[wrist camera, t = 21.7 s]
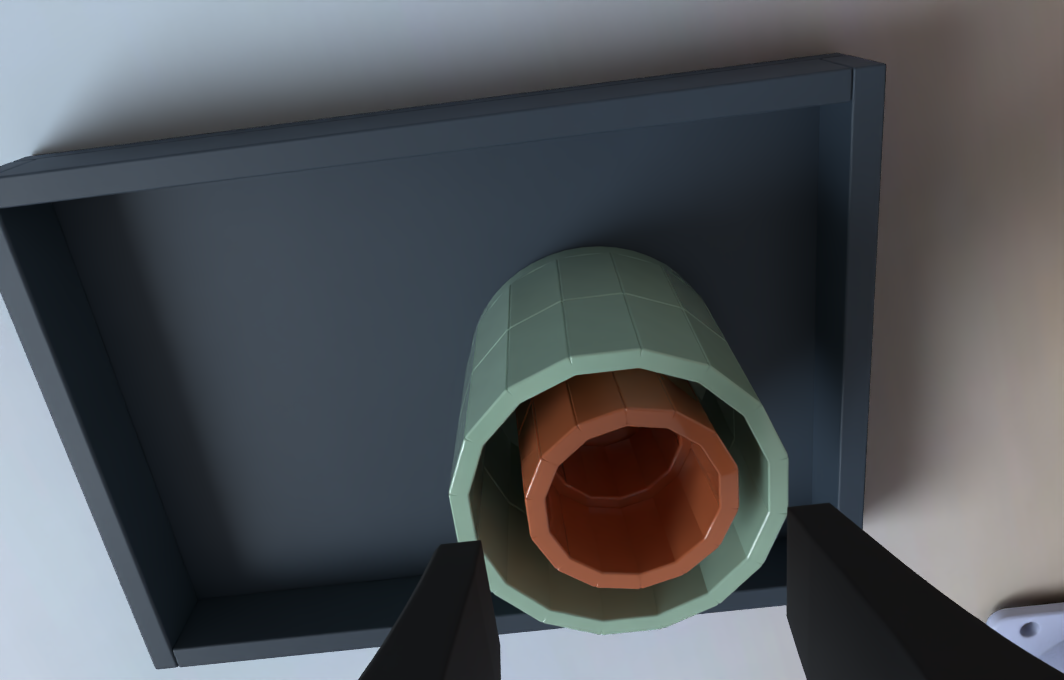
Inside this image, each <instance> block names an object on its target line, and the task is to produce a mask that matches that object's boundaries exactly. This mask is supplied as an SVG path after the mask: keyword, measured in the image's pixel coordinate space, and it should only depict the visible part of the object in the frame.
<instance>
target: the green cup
mask: <svg viewBox="0 0 1064 680" xmlns="http://www.w3.org/2000/svg"><path fill="white" fill-rule="evenodd" d="M634 368H641V369H645V370H649V371H653V372H657V373H661V374H665V375H669V376H673V377H677V378H681V379H685V380H690V381H691V383H692V385H693V386H694V388H695V390H696V392H697V394H698V395H699V397H700V399H701V401H702V403H703V404H704V406H705V408H706V410H707V411H708V413H709V415H710V417H711V419H712V420H713V422H714V424H715V426H716V428H717V429H718V431H719V433H720V435H721V436H722V438H723V440H724V442H725V444H726V445H727V447H728V449H729V451H730V453H731V454H732V456H733V458H734V460H735V462H736V463H737V466H738V469H739V508H738V512H737V514H736V516H735V518H734V520H733V522H732V524H731V525H730V527H729V529H728V531H727V533H726V535H725V537H724V539H723V541H722V543H721V545H719V547H718V548H717V549H716V550H715V551H713V552H712V553H711V554H710V555H708V556H707V557H706V558H705V559H704V560H702V561H701V562H700V563H699V564H697V565H696V566H695V567H694V568H692V569H691V570H690V571H689V572H688V573H686V574H685V573H684V575H682V576H679V577H676V578H673V579H670V580H667V581H664V582H661V583H658V584H655V585H652V586H649V587H646V588H640V589H620V588H597V587H593V586H591V585H589V584H587V583H584V582H582V581H580V580H578V579H576V578H573V577H571V576H569V575H567V574H565V573H562V572H560V571H558V570H557V569H556V568H554V566H553V565H552V564H551V563H550V561H549V560H548V559H547V558H546V556H545V555H544V554H543V553H542V551H541V550H540V549H539V548H538V547H537V545H536V544H535V543H534V542H533V540H532V539H531V536H530V533H529V526H528V519H527V513H526V506H525V499H524V490H523V481H522V472H521V462H520V453H519V444H518V434H517V425H516V415H515V409H516V408H517V407H518V406H519V404H520V403H522V402H524V401H526V400H528V399H530V398H532V397H534V396H536V395H538V394H540V393H542V392H544V391H546V390H548V389H550V388H551V387H553V386H555V385H557V384H559V383H561V382H563V381H565V380H567V379H569V378H571V377H573V376H575V375H582V374H591V373H600V372H608V371H617V370H626V369H634ZM788 494H789V458H788V454H787V452H786V450H785V448H784V446H783V444H782V442H781V440H780V438H779V436H778V434H777V432H776V430H775V428H774V426H773V424H772V422H771V420H770V418H769V416H768V415H767V413H766V411H765V409H764V407H763V405H762V403H761V401H760V399H759V398H758V396H757V394H756V392H755V391H754V389H753V387H752V385H751V384H750V382H749V380H748V378H747V376H746V375H745V373H744V371H743V369H742V368H741V366H740V364H739V362H738V361H737V359H736V357H735V355H734V353H733V352H732V350H731V348H730V346H729V345H728V343H727V341H726V339H725V337H724V336H723V334H722V332H721V330H720V329H719V327H718V325H717V323H716V322H715V320H714V318H713V316H712V314H711V313H710V311H709V309H708V307H707V306H706V304H705V302H704V300H703V299H702V298H701V296H700V295H699V294H698V293H697V292H696V291H695V290H694V288H693V287H692V286H691V285H690V284H689V283H688V282H687V281H686V280H685V279H684V278H683V277H682V276H681V275H679V274H678V273H677V272H676V271H674V270H673V269H671V268H670V267H668V266H667V265H665V264H664V263H662V262H660V261H658V260H656V259H654V258H652V257H650V256H647V255H644V254H641V253H638V252H635V251H632V250H627V249H622V248H617V247H603V246H595V247H581V248H575V249H570V250H565V251H562V252H558V253H555V254H552V255H549V256H547V257H544V258H542V259H540V260H538V261H536V262H534V263H532V264H530V265H529V266H527V267H526V268H524V269H522V270H521V271H519V272H518V273H517V274H515V275H514V276H513V277H512V278H511V279H509V280H508V281H507V282H506V283H505V284H504V285H503V286H502V287H501V288H500V289H499V290H498V291H497V292H496V294H495V295H494V296H493V298H492V299H491V300H490V302H489V303H488V305H487V306H486V308H485V310H484V311H483V313H482V315H481V317H480V319H479V321H478V324H477V327H476V330H475V333H474V335H473V340H472V346H471V351H470V355H469V359H468V363H467V366H466V373H465V380H464V387H463V394H462V401H461V408H460V415H459V422H458V429H457V437H456V444H455V451H454V458H453V465H452V472H451V479H450V486H449V501H450V506H451V511H452V516H453V521H454V526H455V531H456V536H457V541H458V542H466V541H475V540H481V542H482V548H483V553H484V559H485V564H486V570H487V575H488V581H489V586H490V590H491V592H493V593H494V594H495V595H496V596H498V597H500V598H502V599H503V600H505V601H507V602H508V603H510V604H512V605H513V606H515V607H517V608H518V609H520V610H522V611H523V612H525V613H527V614H528V615H530V616H532V617H533V618H535V619H537V620H538V621H540V622H543V623H545V624H550V625H555V626H560V627H565V628H570V629H574V630H579V631H584V632H589V633H594V634H599V635H600V634H601V633H602V635H607V634H617V633H627V632H636V631H646V630H656V629H662V627H663V628H666V627H668V626H670V625H673V624H675V623H677V622H680V621H682V620H684V619H687V618H689V617H691V616H694V615H696V614H698V613H701V612H703V611H705V610H708V609H710V608H712V607H715V606H717V605H718V603H719V604H720V603H722V602H723V601H724V600H725V599H726V598H727V597H728V596H729V595H730V594H731V593H733V592H734V591H735V590H736V589H737V588H738V587H739V586H740V585H741V584H742V583H744V582H745V581H746V580H747V579H748V578H749V577H750V576H751V575H752V574H754V573H755V572H756V571H757V570H758V569H759V568H760V567H761V566H762V564H763V563H764V562H765V560H766V558H767V556H768V554H769V552H770V550H771V548H772V546H773V544H774V541H775V539H776V537H777V535H778V533H779V531H780V529H781V527H782V525H783V523H784V521H785V519H786V517H787V507H788Z"/></svg>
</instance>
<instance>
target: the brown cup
mask: <svg viewBox="0 0 1064 680" xmlns="http://www.w3.org/2000/svg"><path fill="white" fill-rule="evenodd" d="M515 415H516V425H517V434H518V444H519V453H520V462H521V472H522V481H523V490H524V499H525V506H526V513H527V519H528V526H529V533H530V536H531V539H532V540H533V542H534V543H535V544H536V545H537V547H538V548H539V549H540V550H541V551H542V553H543V554H544V555H545V556H546V558H547V559H548V560H549V561H550V563H551V564H552V565H553V566H554V568H556V569H557V570H558V571H560V572H562V573H565V574H567V575H569V576H571V577H573V578H576V579H578V580H580V581H582V582H584V583H587V584H589V585H591V586H593V587H597V588H620V589H640V588H646V587H649V586H652V585H655V584H658V583H661V582H664V581H667V580H670V579H673V578H676V577H679V576H682V575H684V573H685V574H686V573H688V572H689V571H690V570H691V569H692V568H694V567H695V566H696V565H697V564H699V563H700V562H701V561H702V560H704V559H705V558H706V557H707V556H708V555H710V554H711V553H712V552H713V551H715V550H716V549H717V548H718V547H719V545H721V543H722V541H723V539H724V537H725V535H726V533H727V531H728V529H729V527H730V525H731V524H732V522H733V520H734V518H735V516H736V514H737V512H738V508H739V469H738V466H737V463H736V462H735V460H734V458H733V456H732V454H731V453H730V451H729V449H728V447H727V445H726V444H725V442H724V440H723V438H722V436H721V435H720V433H719V431H718V429H717V428H716V426H715V424H714V422H713V420H712V419H711V417H710V415H709V413H708V411H707V410H706V408H705V406H704V404H703V403H702V401H701V399H700V397H699V395H698V394H697V392H696V390H695V388H694V386H693V385H692V383H691V381H690V380H685V379H681V378H677V377H673V376H669V375H665V374H661V373H657V372H653V371H649V370H645V369H641V368H634V369H626V370H617V371H608V372H600V373H591V374H582V375H575V376H573V377H571V378H569V379H567V380H565V381H563V382H561V383H559V384H557V385H555V386H553V387H551V388H550V389H548V390H546V391H544V392H542V393H540V394H538V395H536V396H534V397H532V398H530V399H528V400H526V401H524V402H522V403H520V404H519V406H518V407H517V408H516V409H515Z"/></svg>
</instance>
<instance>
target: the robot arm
mask: <svg viewBox="0 0 1064 680" xmlns="http://www.w3.org/2000/svg"><path fill="white" fill-rule="evenodd" d="M787 619H788V622H789V625H790V628H791V632H792V635H793V638H794V641H795V644H796V648H797V651H798V654H799V657H800V660H801V663H802V666H803V669H804V672H805V675H806V678H807V680H1064V602H1063V603H1053V604H1043V605H1033V606H1024V607H1014V608H1005V609H1001V610H998V611H996V612H994V613H993V614H992V615H991V616H990V617H989V618H988V620H987V623H986V624H985V623H984V622H982V621H981V620H979V619H978V618H976V617H975V616H973V615H972V614H970V613H969V612H967V611H966V610H965V609H963V608H962V607H960V606H959V605H958V604H956V603H955V602H954V601H952V600H951V599H949V598H948V597H947V596H945V595H944V594H943V593H941V592H940V591H939V590H937V589H936V588H935V587H933V586H932V585H931V584H930V583H928V582H927V581H926V580H924V579H923V578H922V577H920V576H919V575H918V574H916V573H915V572H914V571H913V570H911V569H910V568H909V567H908V566H906V565H905V564H904V563H903V562H901V561H900V560H899V559H898V558H896V557H895V556H894V555H893V554H891V553H890V552H889V551H888V550H886V549H885V548H884V547H883V546H882V545H880V544H879V543H878V542H877V541H875V540H874V539H873V538H872V537H871V536H869V535H868V534H867V533H866V532H865V531H863V530H862V529H861V528H860V527H859V526H857V525H856V524H855V523H854V522H853V521H851V520H850V519H849V518H848V517H846V516H845V515H844V514H843V513H842V512H840V511H839V510H838V509H837V508H835V507H834V506H833V505H832V504H831V503H821V504H811V505H802V506H793V507H787ZM1026 623H1028V624H1026ZM1025 624H1026V625H1025ZM1023 625H1024V626H1023ZM358 680H501V665H500V642H499V636H498V631H497V625H496V619H495V614H494V608H493V603H492V597H491V592H490V586H489V581H488V575H487V570H486V564H485V559H484V553H483V548H482V542H481V540H475V541H466V542H457V543H447V544H440V546H439V547H438V548H437V549H436V550H435V551H434V553H433V555H432V557H431V559H430V561H429V563H428V565H427V567H426V569H425V571H424V573H423V575H422V577H421V579H420V580H419V582H418V584H417V586H416V588H415V590H414V591H413V593H412V595H411V597H410V599H409V600H408V602H407V604H406V606H405V607H404V609H403V611H402V613H401V614H400V616H399V617H398V619H397V621H396V622H395V624H394V626H393V627H392V629H391V631H390V632H389V634H388V635H387V637H386V639H385V640H384V642H383V644H382V645H381V647H380V648H379V650H378V651H377V653H376V655H375V656H374V658H373V659H372V661H371V662H370V663H369V665H368V666H367V668H366V669H365V671H364V672H363V673H362V675H361V676H360V678H359V679H358Z"/></svg>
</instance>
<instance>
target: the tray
mask: <svg viewBox="0 0 1064 680" xmlns="http://www.w3.org/2000/svg"><path fill="white" fill-rule="evenodd" d="M885 82H886V64H884V63H880V62H876V61H871V60H867V59H863V58H859V57H854V56H850V55H844V54H840V53H832V54H824V55H817V56H809V57H801V58H793V59H785V60H778V61H770V62H762V63H754V64H746V65H739V66H731V67H723V68H715V69H707V70H699V71H692V72H684V73H676V74H668V75H660V76H653V77H645V78H637V79H629V80H621V81H614V82H606V83H598V84H590V85H582V86H575V87H567V88H559V89H551V90H543V91H536V92H528V93H520V94H512V95H504V96H497V97H489V98H481V99H473V100H465V101H458V102H450V103H442V104H434V105H426V106H419V107H411V108H403V109H395V110H387V111H380V112H372V113H364V114H356V115H348V116H340V117H333V118H325V119H317V120H309V121H301V122H294V123H286V124H278V125H270V126H262V127H255V128H247V129H239V130H231V131H223V132H216V133H208V134H200V135H192V136H184V137H177V138H169V139H161V140H153V141H145V142H138V143H130V144H122V145H114V146H106V147H99V148H91V149H83V150H75V151H67V152H60V153H52V154H44V155H36V156H28V157H24V158H22V159H19V160H16V161H14V162H11V163H8V164H5V165H2V166H0V292H1V295H2V297H3V300H4V302H5V304H6V307H7V309H8V312H9V314H10V317H11V319H12V321H13V324H14V326H15V329H16V331H17V334H18V336H19V338H20V341H21V343H22V346H23V348H24V351H25V353H26V355H27V358H28V360H29V363H30V365H31V368H32V370H33V372H34V375H35V377H36V380H37V382H38V385H39V387H40V389H41V392H42V394H43V397H44V399H45V402H46V404H47V406H48V409H49V411H50V414H51V416H52V419H53V421H54V423H55V426H56V428H57V431H58V433H59V436H60V438H61V440H62V443H63V445H64V448H65V450H66V453H67V455H68V457H69V460H70V462H71V465H72V467H73V470H74V472H75V474H76V477H77V479H78V482H79V484H80V487H81V489H82V491H83V494H84V496H85V499H86V501H87V504H88V506H89V508H90V511H91V513H92V516H93V518H94V521H95V523H96V525H97V528H98V530H99V533H100V535H101V538H102V540H103V542H104V545H105V547H106V550H107V552H108V555H109V557H110V559H111V562H112V564H113V567H114V569H115V572H116V574H117V576H118V579H119V581H120V584H121V586H122V589H123V591H124V593H125V596H126V598H127V601H128V603H129V606H130V608H131V610H132V613H133V615H134V618H135V620H136V623H137V625H138V627H139V630H140V632H141V635H142V637H143V640H144V642H145V644H146V647H147V649H148V652H149V654H150V657H151V659H152V661H153V664H154V666H155V668H156V669H165V668H175V667H178V666H179V667H187V666H197V665H207V664H217V663H226V662H236V661H246V660H256V659H265V658H275V657H285V656H295V655H304V654H314V653H324V652H334V651H343V650H353V649H363V648H373V647H381V645H382V644H383V642H384V640H385V639H386V637H387V635H388V634H389V632H390V631H391V629H392V627H393V626H394V624H395V622H396V621H397V619H398V617H399V616H400V614H401V613H402V611H403V609H404V607H405V606H406V604H407V602H408V600H409V599H410V597H411V595H412V593H413V591H414V590H415V588H416V586H417V584H418V582H419V580H420V579H421V577H422V575H423V573H424V571H425V569H426V567H427V565H428V563H429V561H430V559H431V557H432V555H433V553H434V551H435V550H436V549H437V548H438V547H439V546H440V544H447V543H457V542H458V541H457V536H456V531H455V526H454V521H453V516H452V511H451V506H450V501H449V486H450V479H451V472H452V465H453V458H454V451H455V444H456V437H457V429H458V422H459V415H460V408H461V401H462V394H463V387H464V380H465V373H466V366H467V363H468V359H469V355H470V351H471V346H472V340H473V335H474V333H475V330H476V327H477V324H478V321H479V319H480V317H481V315H482V313H483V311H484V310H485V308H486V306H487V305H488V303H489V302H490V300H491V299H492V298H493V296H494V295H495V294H496V292H497V291H498V290H499V289H500V288H501V287H502V286H503V285H504V284H505V283H506V282H507V281H508V280H509V279H511V278H512V277H513V276H514V275H515V274H517V273H518V272H519V271H521V270H522V269H524V268H526V267H527V266H529V265H530V264H532V263H534V262H536V261H538V260H540V259H542V258H544V257H547V256H549V255H552V254H555V253H558V252H562V251H565V250H570V249H575V248H581V247H595V246H603V247H617V248H622V249H627V250H632V251H635V252H638V253H641V254H644V255H647V256H650V257H652V258H654V259H656V260H658V261H660V262H662V263H664V264H665V265H667V266H668V267H670V268H671V269H673V270H674V271H676V272H677V273H678V274H679V275H681V276H682V277H683V278H684V279H685V280H686V281H687V282H688V283H689V284H690V285H691V286H692V287H693V288H694V290H695V291H696V292H697V293H698V294H699V295H700V296H701V298H702V299H703V300H704V302H705V304H706V306H707V307H708V309H709V311H710V313H711V314H712V316H713V318H714V320H715V322H716V323H717V325H718V327H719V329H720V330H721V332H722V334H723V336H724V337H725V339H726V341H727V343H728V345H729V346H730V348H731V350H732V352H733V353H734V355H735V357H736V359H737V361H738V362H739V364H740V366H741V368H742V369H743V371H744V373H745V375H746V376H747V378H748V380H749V382H750V384H751V385H752V387H753V389H754V391H755V392H756V394H757V396H758V398H759V399H760V401H761V403H762V405H763V407H764V409H765V411H766V413H767V415H768V416H769V418H770V420H771V422H772V424H773V426H774V428H775V430H776V432H777V434H778V436H779V438H780V440H781V442H782V444H783V446H784V448H785V450H786V452H787V454H788V458H789V494H788V507H793V506H802V505H811V504H821V503H831V504H832V505H833V506H834V507H835V508H837V509H838V510H839V511H840V512H842V513H843V514H844V515H845V516H846V517H848V518H849V519H850V520H851V521H853V522H854V523H855V524H856V525H857V526H859V527H860V528H861V529H862V530H863V511H864V491H865V472H866V452H867V433H868V413H869V394H870V374H871V355H872V335H873V316H874V296H875V277H876V257H877V238H878V218H879V199H880V179H881V160H882V140H883V121H884V101H885ZM490 592H491V590H490ZM491 597H492V603H493V608H494V614H495V619H496V625H497V631H498V635H499V634H509V633H519V632H529V631H538V630H548V629H558V628H565V627H560V626H555V625H550V624H545V623H543V622H540V621H538V620H537V619H535V618H533V617H532V616H530V615H528V614H527V613H525V612H523V611H522V610H520V609H518V608H517V607H515V606H513V605H512V604H510V603H508V602H507V601H505V600H503V599H502V598H500V597H498V596H496V595H495V594H494V593H493V592H491ZM782 605H787V517H786V519H785V521H784V523H783V525H782V527H781V529H780V531H779V533H778V535H777V537H776V539H775V541H774V544H773V546H772V548H771V550H770V552H769V554H768V556H767V558H766V560H765V562H764V563H763V564H762V566H761V567H760V568H759V569H758V570H757V571H756V572H755V573H754V574H752V575H751V576H750V577H749V578H748V579H747V580H746V581H745V582H744V583H742V584H741V585H740V586H739V587H738V588H737V589H736V590H735V591H734V592H733V593H731V594H730V595H729V596H728V597H727V598H726V599H725V600H724V601H723V602H722V603H720V604H719V603H718V605H717V606H715V607H712V608H710V609H708V610H705V611H703V612H701V613H698V614H704V613H714V612H724V611H734V610H743V609H753V608H763V607H773V606H782Z"/></svg>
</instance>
